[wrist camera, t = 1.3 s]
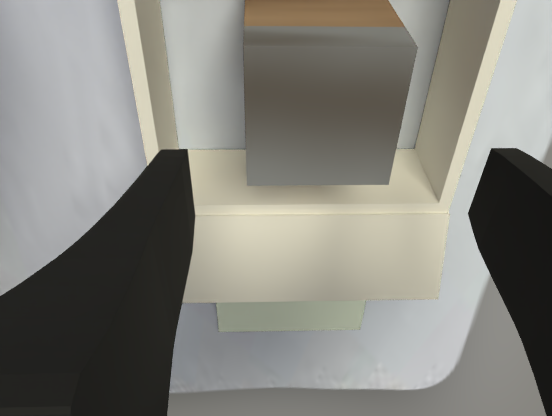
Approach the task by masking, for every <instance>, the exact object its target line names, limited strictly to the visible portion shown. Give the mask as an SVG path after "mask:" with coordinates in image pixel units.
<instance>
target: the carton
mask: <svg viewBox="0 0 552 416" xmlns="http://www.w3.org/2000/svg"><path fill="white" fill-rule="evenodd" d="M117 2H118V7H119V13H120V18H121V24H122V29H123V35H124V40H125V46H126V51H127V57H128V62H129V67H130V73H131V78H132V84H133V89H134V95H135V100H136V106H137V111H138V117H139V122H140V128H141V133H142V139H143V144H144V150H145V155H146V161H147V166H148V165H149V163H150V162H151V161H152V159H153V158H154V157H155V156H156V154H157V153H158V152H159V151H160V150H161V149H179V147H178V139H177V131H176V123H175V116H174V108H173V100H172V92H171V85H170V77H169V69H168V61H167V54H166V46H165V38H164V30H163V23H162V15H161V7H160V0H117ZM516 2H517V0H450V3H449V8H448V12H447V16H446V20H445V24H444V29H443V33H442V37H441V41H440V45H439V49H438V54H437V58H436V62H435V66H434V70H433V74H432V79H431V83H430V87H429V91H428V95H427V100H426V104H425V108H424V112H423V116H422V120H421V125H420V129H419V133H418V137H417V141H416V145H415V149H396V152H395V157H394V162H393V167H392V171H391V176H390V181H389V185H288V186H247V176H246V149H242V150H188V156H189V165H190V174H191V182H192V191H193V200H194V208H195V227H194V241H193V252H192V257H191V262H190V267H189V272H188V277H187V282H186V286H185V291H184V296H183V301H182V303H226V302H291V301H357V300H422V299H438V297H439V290H440V282H441V275H442V268H443V261H444V253H445V246H446V239H447V232H448V224H449V217H450V214H449V213H448V212H449V208H450V205H451V202H452V199H453V196H454V193H455V190H456V187H457V184H458V181H459V178H460V174H461V171H462V168H463V165H464V162H465V159H466V156H467V153H468V150H469V147H470V144H471V141H472V137H473V134H474V131H475V128H476V125H477V122H478V119H479V116H480V113H481V110H482V107H483V103H484V100H485V97H486V94H487V91H488V88H489V85H490V82H491V79H492V76H493V73H494V70H495V66H496V63H497V60H498V57H499V54H500V51H501V48H502V45H503V42H504V39H505V36H506V32H507V29H508V26H509V23H510V20H511V17H512V14H513V11H514V8H515V5H516Z"/></svg>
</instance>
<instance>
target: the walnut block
mask: <svg viewBox="0 0 552 416" xmlns="http://www.w3.org/2000/svg"><path fill="white" fill-rule="evenodd" d="M417 48H418V47H417V45H416V43H415V42H414V40H413V39H412V37H411V36H410V34H409V32H408V31H407V29H406V28H405V26H404V25H403V23H402V21H401V20H400V18H399V17H398V15H397V14H396V12H395V10H394V9H393V7H392V6H391V4H390V3H389V1H388V0H245V15H244V42H243V52H244V93H245V134H246V176H247V186H288V185H389V181H390V176H391V171H392V167H393V162H394V157H395V152H396V148H397V143H398V138H399V133H400V129H401V124H402V119H403V114H404V110H405V105H406V100H407V95H408V91H409V86H410V81H411V76H412V72H413V67H414V62H415V57H416V53H417Z"/></svg>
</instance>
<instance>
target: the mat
mask: <svg viewBox="0 0 552 416" xmlns="http://www.w3.org/2000/svg"><path fill="white" fill-rule="evenodd" d="M365 304H366V300H357V301H291V302H226V303H216V308H217V318H218V329H219V332H251V331H307V330H360V327H361V322H362V318H363V313H364V308H365Z"/></svg>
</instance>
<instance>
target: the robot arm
mask: <svg viewBox="0 0 552 416" xmlns="http://www.w3.org/2000/svg"><path fill="white" fill-rule="evenodd" d="M468 215H469V219H470V222H471V226H472V230H473V233H474V236H475V239H476V242H477V246H478V249H479V251H480V253H481V255H482V257H483V260H484V262H485V264H486V266H487V268H488V270H489V272H490V274H491V277H492V279H493V281H494V283H495V285H496V287H497V289H498V291H499V293H500V295H501V297H502V299H503V301H504V303H505V305H506V307H507V309H508V312H509V313H510V315H511V318H512V320H513V322H514V324H515V326H516V328H517V331H518V333H519V336H520V338H521V340H522V343H523V345H524V348H525V351H526V354H527V357H528V360H529V363H530V365H531V368H532V371H533V373H534V377H535V380H536V383H537V386H538V390H539V393H540V396H541V399H542V402H543V406H544V409H545V412H546V415H547V416H552V169H551V168H549V167H548V166H546V165H545V164H543V163H541V162H540V161H538V160H537V159H535V158H533V157H532V156H530V155H528V154H526V153H525V152H523V151H521V150H519V149H517V148H491V151H490V154H489V156H488V159H487V162H486V165H485V167H484V170H483V173H482V176H481V179H480V181H479V184H478V187H477V190H476V193H475V195H474V198H473V201H472V204H471V207H470V209H469V212H468ZM194 227H195V208H194V200H193V191H192V182H191V174H190V165H189V156H188V149H161V150H160V151H159V152H158V153H157V154H156V156H155V157H154V158H153V159H152V161H151V162H150V163H149V165H148V166H147V167H146V168H145V170H144V171H143V172H142V173H141V175H140V176H139V177H138V178H137V179H136V181H135V182H134V183H133V184H132V185H131V186H130V188H129V189H128V190H127V191H126V192H125V193H124V194H123V196H122V197H121V198H120V199H119V200H118V201H117V202H116V203H115V205H114V206H113V207H112V208H111V209H110V210H109V211H108V212H107V213H106V214H105V215H104V216H103V217H102V218H101V219H100V220H99V221H98V222H97V223H96V224H95V225H94V226H93V227H92V228H91V229H90V230H89V231H88V232H86V233H85V234H84V235H83V236H82V237H81V238H80V239H79V240H78V241H76V242H75V243H74V244H73V245H72V246H70V247H69V248H68V249H67V250H66V251H64V252H63V253H62V254H61V255H59V256H58V257H57V258H56V259H54V260H53V261H51V262H50V263H49V264H47V265H46V266H44V267H43V268H41V269H40V270H39V271H37V272H36V273H34V274H33V275H32V276H30V277H29V278H27V279H26V280H25V281H23V282H22V283H20V284H19V285H17V286H16V287H14V288H13V289H11V290H9V291H8V292H6V293H5V294H3V295H1V296H0V416H167V409H168V398H169V387H170V377H171V367H172V357H173V348H174V341H175V335H176V329H177V325H178V320H179V315H180V310H181V305H182V301H183V296H184V291H185V286H186V282H187V277H188V272H189V267H190V262H191V257H192V252H193V241H194Z"/></svg>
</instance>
